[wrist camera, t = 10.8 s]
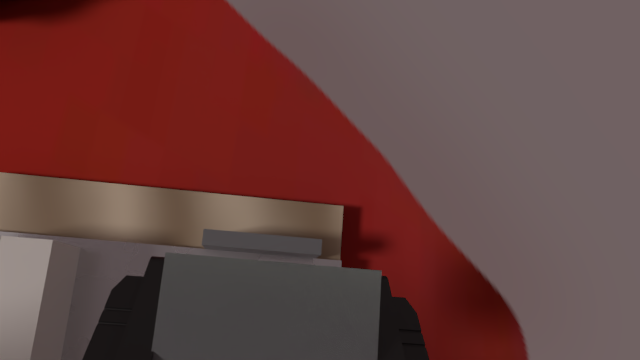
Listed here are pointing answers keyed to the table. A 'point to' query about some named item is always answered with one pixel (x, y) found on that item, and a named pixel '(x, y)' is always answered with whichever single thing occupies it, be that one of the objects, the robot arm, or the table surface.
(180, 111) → the table surface
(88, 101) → the table surface
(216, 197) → the din rail mount
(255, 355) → the block
